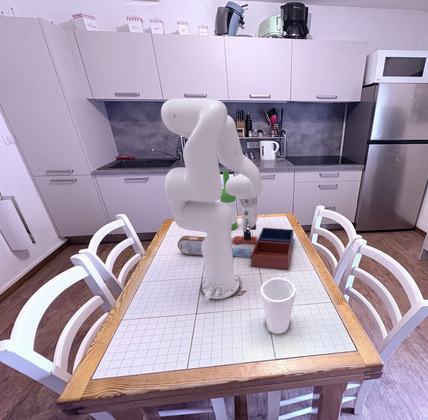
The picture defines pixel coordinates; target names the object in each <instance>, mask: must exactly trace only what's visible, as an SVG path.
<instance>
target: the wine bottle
mask: <svg viewBox="0 0 428 420" xmlns="http://www.w3.org/2000/svg"><path fill="white" fill-rule="evenodd" d="M228 179H230V172H229V170H228V171H226V170H225V171H222V180H223V187H222V195H221V197H220V199H219V200H220V201H219V202H220V203H224V204H226V205H228V206H229V207H230V208H231V210H232V213H233V219H232V228H231V231H232V230H235V229H237V227H238V213H237V212H238V211H237V198H236V197H237V196H232V195H229V194H228V193H227V192H226V189H225V185H226V182H227V181H228Z"/></svg>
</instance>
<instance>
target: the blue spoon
mask: <svg viewBox="0 0 428 420" xmlns="http://www.w3.org/2000/svg"><path fill="white" fill-rule="evenodd" d="M232 253H233V257H242V258H251V254H252V249H250V248H239V247H235V248H233V247H232Z"/></svg>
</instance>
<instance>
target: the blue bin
mask: <svg viewBox="0 0 428 420" xmlns="http://www.w3.org/2000/svg"><path fill="white" fill-rule="evenodd" d="M257 241H269V242H283V243H291V251H293V250H292V249H293V244H294V243H293V242H294V229H290V228H289V229H287V228H276V227H275V228H274V227H273V228H272V227H262V229H261V231H260V233H259V235H258V237H257Z"/></svg>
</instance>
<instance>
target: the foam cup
mask: <svg viewBox="0 0 428 420" xmlns="http://www.w3.org/2000/svg"><path fill="white" fill-rule="evenodd" d="M296 290H297V289H296V286H295V284H294V283H293V282H292V281H291V280H289V279H287V278H285V277H272V278H270V279H267V280H266V281H264V282H263V283H262V284H261V287H260V300H261V302H262V306H263V311H264V316H265V321H266V327H267V329H268V330H269V332H271V333H273V334H275V335H281V334H283V333H285V332H286V331H287V330H288V329H289V325H290V321H291V316H292V311H293V306H294V303H295V300H296V295H297V294H296V292H297V291H296Z"/></svg>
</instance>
